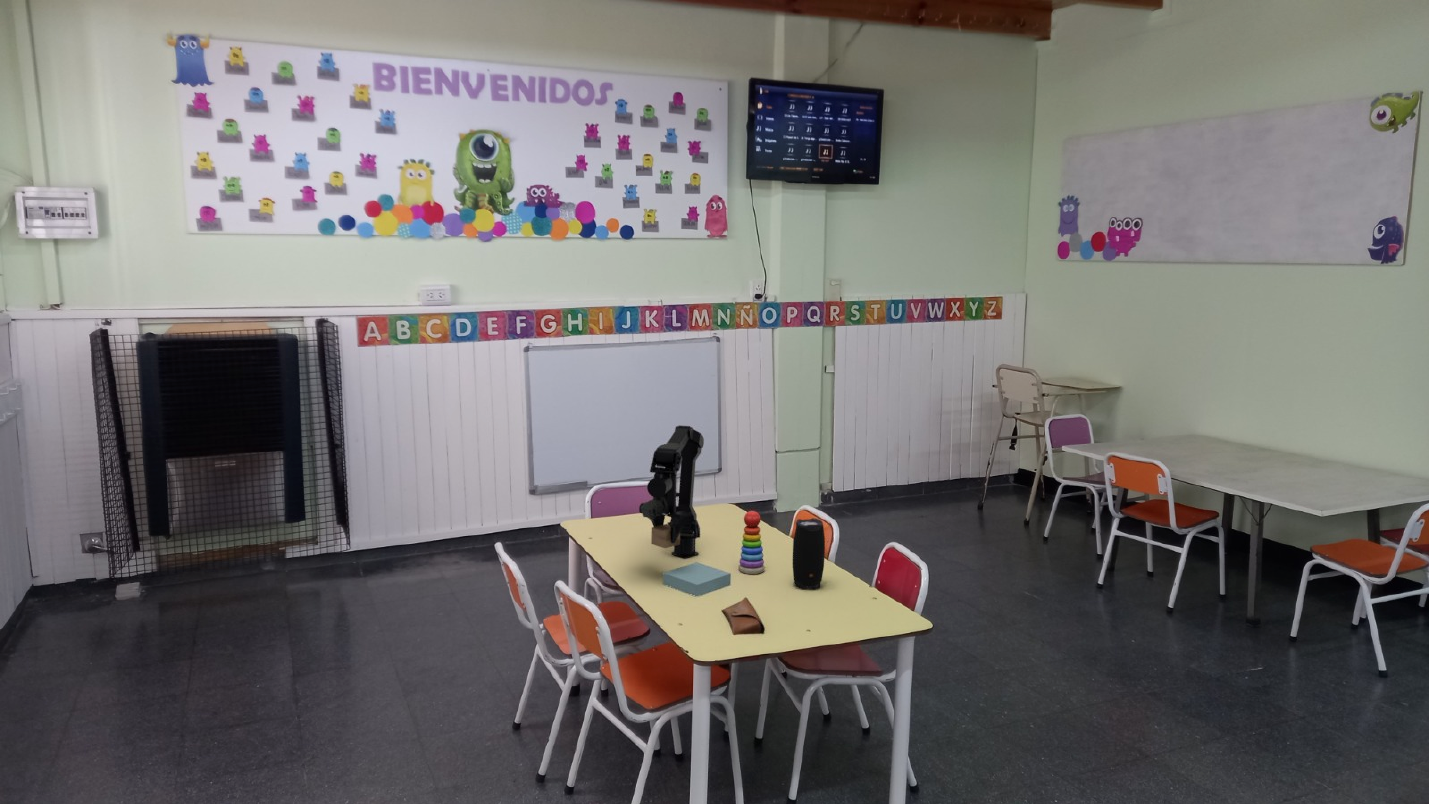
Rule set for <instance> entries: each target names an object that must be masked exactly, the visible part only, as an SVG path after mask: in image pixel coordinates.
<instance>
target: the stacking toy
mask: <svg viewBox="0 0 1429 804" xmlns="http://www.w3.org/2000/svg"><path fill="white" fill-rule="evenodd" d="M743 521H744V522H743V523H744V524H745V527H743V532H744V533H743V535H742V541H741V544H742V546H741V548H740V549H741V552H740V558H739V564H738V565H739V566H738V570H739V571H740V572H741V573H744V574H747V575H757V574H761V573H763V572H764V571H765V570H766V569H765V568H766V567H765V565H764V563H765V560H764V553H763V551H764V549H763V546H762V543H763V542H762V540H761V538H762V535H761V528H760V526H759V524H760V523H761V516H760V514H759V513H758V512H757V511H754V510H749V511H747V512H746V513H745V515H744V516H743Z"/></svg>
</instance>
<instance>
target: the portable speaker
mask: <svg viewBox="0 0 1429 804" xmlns="http://www.w3.org/2000/svg"><path fill="white" fill-rule="evenodd" d="M795 525H796V526H795V531H794V535H793V540H792V542H793V543H792V575H793V584H794V587H795V588H797V589H800V590H804V589H805V588H813V589H814V590H817V589H820V588H821V582H822V579H823V574H824V568H825V553H826V538H825V530H824V523H823V521H822V520H821V519H818V518H810V519H801V518H799V519H797V520H796V522H795Z"/></svg>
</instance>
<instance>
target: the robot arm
mask: <svg viewBox="0 0 1429 804" xmlns="http://www.w3.org/2000/svg"><path fill="white" fill-rule="evenodd" d="M704 443H705V439H704V436H703V435H702V433H701V432H699V431H697V430H696V429H694V428H693V427H692V426H690V425H681V424H680V425H679V424H678V425H676V426H675V428H674V432H673V434H672V435H671V437H670V438H669V439H668V441H667V442H666V443H664V444H660V445H659V446H658V447H657V448H656V449H655V450H654V452H653V455H652V461H651V465H650V469H649V473H651V474H652V473H654V474H653V477H652V479H651V480H649V481H648V483H647V486H646V487H647V489H646V490H647V492H648V494H649V495H650V496H651V497H652V499H650V500H649V501H645V502H641V503H640V505H639V509H638V511H639V514H640V513H641V514H642V517H643V518H647V519H648V520H650V521H651V525H652V527H656V526H660V525H664V524H665V520H666V517H669V518H670V520H669V522H667V524H668V525H669V526H670V528H671V543H675V541H676V539H677V537H678V535H679V533H680V545H676V546H673V551H671V552H670V553H671V555H674V556H677V557H679V558H682V559H688V558H691V557H695V556H698V555H699V552H698V551H696V539H700V538H701V527H700V524H699V522H698V520H697V518H698V517H697V513H696V511H695V509H694V507H693V502H694V489H695V488H694V485H695V475H696V461H697V459H698V458H699V457H700V456H701V454H702V449H703V448H704ZM679 471H680V472H679ZM678 472H679V473H680V474H679V489H678V492H677V483H678V481H677V480H678V478H677V477H678V476H677V475H678ZM677 498H678V500H677ZM677 501H678V502H677Z"/></svg>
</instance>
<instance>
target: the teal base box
mask: <svg viewBox="0 0 1429 804" xmlns="http://www.w3.org/2000/svg"><path fill="white" fill-rule="evenodd" d="M731 575H732V574H731V573H730V572H728V571H725V570H722V569H719V568H715V567H712V566H710V565H706V564H704V563H701V562H697V561H696V562H693V563H689V564H687V565H684V566H679V567H677V568H674V569H671V570H668V571H665V572H663V573H662V585H664V586H666V585H668V586H667V587H669V586H671V587H670V588H672V587H673V588H672V589H674V588H675V590H677V589H678V591H680V592H683V593H685V594H688V595H690V594H692V595H691V596H693V595H695V596H694V597H696V596H698V597H700V596H699V595H701V596H704V595H706V594H709V593H712V592H715V591H717V590H721V589H724V588H726V587H729V586H731V580H732V579H731V577H732V576H731ZM703 594H704V595H703Z"/></svg>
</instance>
